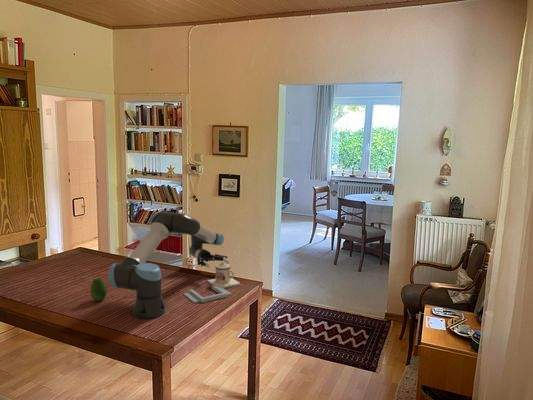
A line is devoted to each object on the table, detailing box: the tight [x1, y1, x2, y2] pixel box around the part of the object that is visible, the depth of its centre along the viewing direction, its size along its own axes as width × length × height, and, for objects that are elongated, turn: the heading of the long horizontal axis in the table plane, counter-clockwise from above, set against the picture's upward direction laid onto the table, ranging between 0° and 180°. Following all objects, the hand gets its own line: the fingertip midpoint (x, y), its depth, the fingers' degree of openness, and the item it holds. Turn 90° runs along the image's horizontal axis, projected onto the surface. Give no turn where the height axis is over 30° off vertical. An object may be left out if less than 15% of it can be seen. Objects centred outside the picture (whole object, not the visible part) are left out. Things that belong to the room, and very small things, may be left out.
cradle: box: [183, 284, 232, 304], centre depth 218 cm, size 22×15×2 cm
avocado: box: [90, 277, 108, 302], centre depth 208 cm, size 8×8×12 cm
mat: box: [207, 278, 241, 289], centre depth 237 cm, size 14×14×1 cm
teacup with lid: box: [214, 261, 235, 283], centre depth 236 cm, size 12×9×12 cm
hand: (218, 264), depth 241 cm, fingers open, 13 cm apart
